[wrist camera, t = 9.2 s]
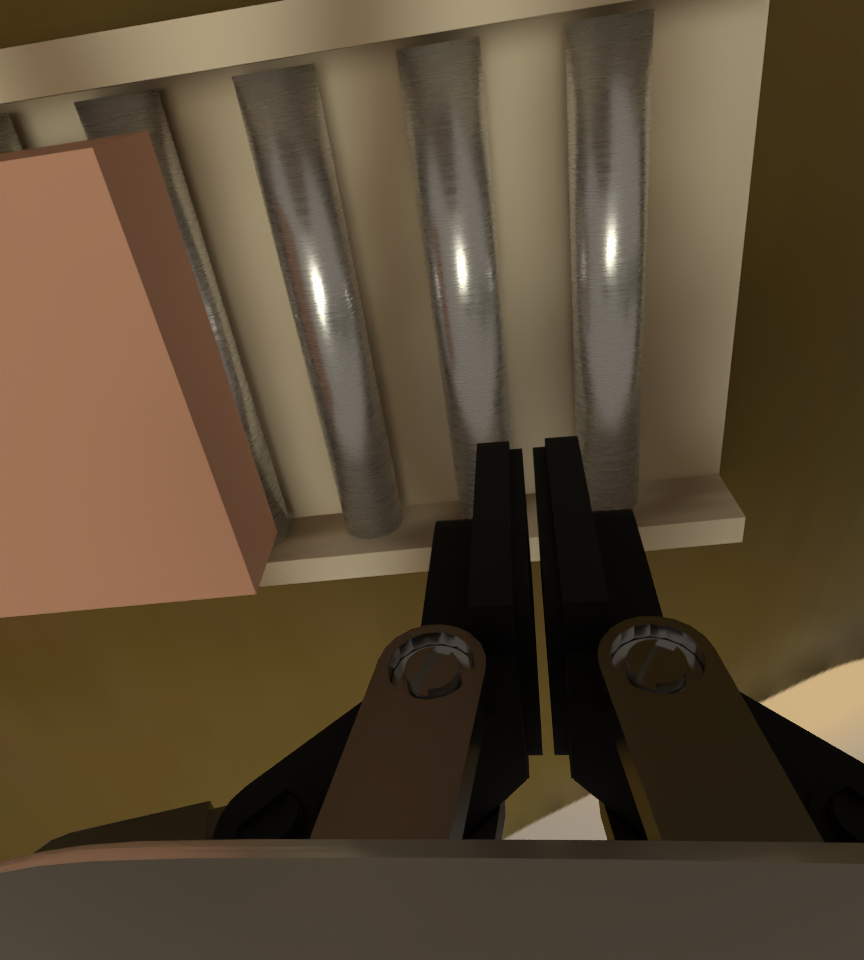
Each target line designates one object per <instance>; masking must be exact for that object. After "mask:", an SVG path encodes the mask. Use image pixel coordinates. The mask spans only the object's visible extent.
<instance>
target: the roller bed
mask: <svg viewBox="0 0 864 960" xmlns="http://www.w3.org/2000/svg"><path fill="white" fill-rule="evenodd" d="M769 2H770V0H284V1H278V2H273V3H267V4H261V5H255V6H249V7H243V8H238V9H232V10H226V11H220V12H214V13H208V14H203V15H197V16H191V17H185V18H179V19H173V20H168V21H162V22H156V23H150V24H144V25H138V26H132V27H127V28H121V29H115V30H109V31H103V32H97V33H92V34H86V35H80V36H74V37H68V38H62V39H57V40H51V41H45V42H39V43H33V44H27V45H22V46H16V47H10V48H4V49H0V114H3V113H8V114H9V116H10V119H11V121H12V123H13V126H14V128H15V131H16V133H17V135H18V138H19V140H20V143H21V145H22V147H23V150H27V149H34V148H40V147H46V146H53V145H59V144H66V143H72V142H78V141H85V140H87V138H86V135H85V132H84V130H83V127H82V124H81V121H80V119H79V116H78V113H77V111H76V108H75V105H74V102H77V101H83V100H89V99H95V98H101V97H107V96H113V95H120V94H126V93H132V92H138V91H144V90H151V89H157V90H158V93H159V96H160V99H161V103H162V106H163V109H164V112H165V116H166V119H167V122H168V125H169V129H170V132H171V135H172V138H173V142H174V145H175V148H176V151H177V155H178V158H179V161H180V164H181V168H182V171H183V174H184V177H185V181H186V184H187V187H188V191H189V194H190V197H191V200H192V204H193V207H194V210H195V213H196V217H197V220H198V223H199V226H200V230H201V233H202V236H203V239H204V243H205V246H206V249H207V252H208V256H209V259H210V262H211V265H212V269H213V272H214V275H215V278H216V282H217V285H218V288H219V291H220V295H221V298H222V301H223V304H224V308H225V311H226V314H227V317H228V321H229V324H230V327H231V330H232V334H233V337H234V340H235V343H236V347H237V350H238V353H239V356H240V360H241V363H242V366H243V369H244V373H245V376H246V379H247V382H248V386H249V389H250V392H251V395H252V399H253V402H254V405H255V408H256V412H257V415H258V418H259V421H260V425H261V428H262V431H263V434H264V438H265V441H266V444H267V447H268V451H269V454H270V457H271V460H272V464H273V467H274V470H275V473H276V477H277V480H278V483H279V486H280V490H281V493H282V496H283V499H284V503H285V506H286V509H287V512H288V516H289V519H290V522H291V530H290V532H289V534H288V535H287V537H285V538H284V539H283V540H282V541H281V542H279V543H277V544H276V545H273V547H272V550H271V553H270V556H269V559H268V562H267V564H266V567H265V570H264V573H263V576H262V579H261V582H260V585H259V587H262V586H273V585H283V584H294V583H305V582H316V581H327V580H337V579H348V578H359V577H370V576H381V575H391V574H402V573H413V572H424V571H429V564H430V556H431V549H432V541H433V534H434V527H435V523H436V521H441V520H457V519H462V517H461V513H460V506H459V499H458V492H457V485H456V478H455V471H454V463H453V456H452V449H451V442H450V435H449V428H448V421H447V414H446V406H445V399H444V392H443V385H442V378H441V371H440V364H439V356H438V349H437V342H436V335H435V328H434V321H433V314H432V306H431V299H430V292H429V285H428V278H427V271H426V264H425V257H424V249H423V242H422V235H421V228H420V221H419V214H418V207H417V199H416V192H415V185H414V178H413V171H412V164H411V157H410V149H409V142H408V135H407V128H406V121H405V114H404V107H403V100H402V92H401V85H400V78H399V71H398V64H397V57H396V50H398V49H404V48H410V47H416V46H422V45H428V44H434V43H440V42H446V41H453V40H459V39H465V38H471V37H478V36H479V37H480V49H481V61H482V73H483V85H484V97H485V109H486V121H487V133H488V145H489V157H490V169H491V181H492V193H493V205H494V217H495V229H496V241H497V253H498V265H499V277H500V289H501V301H502V313H503V325H504V337H505V349H506V361H507V373H508V385H509V397H510V409H511V421H512V433H513V445H514V449H520V448H522V453H523V466H524V479H525V492H526V505H527V518H528V531H529V544H530V557H531V562H532V561H540V552H539V537H538V522H537V507H536V492H535V478H534V463H533V447H545V438H553V437H566V436H576V426H575V388H574V350H573V313H572V275H571V237H570V199H569V161H568V124H567V86H566V48H565V22H570V21H576V20H582V19H588V18H594V17H601V16H607V15H613V14H619V13H625V12H632V11H638V10H644V9H650V8H654V35H653V66H652V98H651V129H650V160H649V191H648V222H647V254H646V285H645V316H644V347H643V379H642V410H641V441H640V472H639V500H638V503H637V505H636V506H635V507H634V508H633V509H632V510H633V513H634V516H635V519H636V522H637V526H638V530H639V533H640V537H641V540H642V544H643V547H644V551H650V550H661V549H672V548H683V547H694V546H704V545H715V544H726V543H737V542H742V540H743V533H744V525H745V518H746V517H745V515H744V514H743V512H742V511H741V509H740V507H739V506H738V504H737V502H736V501H735V499H734V498H733V496H732V494H731V493H730V491H729V490H728V488H727V486H726V485H725V483H724V482H723V480H722V478H721V477H720V475H719V471H720V462H721V452H722V443H723V434H724V424H725V415H726V406H727V396H728V387H729V377H730V368H731V359H732V349H733V340H734V330H735V321H736V312H737V302H738V293H739V283H740V274H741V265H742V255H743V246H744V236H745V227H746V218H747V208H748V199H749V190H750V180H751V171H752V161H753V152H754V143H755V133H756V124H757V114H758V105H759V96H760V86H761V77H762V67H763V58H764V49H765V39H766V30H767V20H768V11H769ZM311 63H314V66H315V71H316V76H317V81H318V86H319V91H320V96H321V101H322V106H323V111H324V117H325V122H326V127H327V132H328V137H329V142H330V147H331V152H332V157H333V162H334V167H335V173H336V178H337V183H338V188H339V193H340V198H341V203H342V208H343V213H344V218H345V223H346V229H347V234H348V239H349V244H350V249H351V254H352V259H353V264H354V269H355V274H356V279H357V285H358V290H359V295H360V300H361V305H362V310H363V315H364V320H365V325H366V330H367V336H368V341H369V346H370V351H371V356H372V361H373V366H374V371H375V376H376V381H377V386H378V392H379V397H380V402H381V407H382V412H383V417H384V422H385V427H386V432H387V437H388V442H389V448H390V453H391V458H392V463H393V468H394V473H395V478H396V483H397V488H398V493H399V498H400V504H401V509H402V514H403V521H402V523H401V525H400V526H399V527H398V528H397V529H396V530H395V531H393V532H392V533H390V534H388V535H386V536H383V537H380V538H375V539H361V538H357V537H354V536H352V535H351V534H350V533H349V532H348V531H347V528H346V524H345V520H344V516H343V512H342V509H341V505H340V501H339V497H338V493H337V489H336V485H335V481H334V477H333V473H332V469H331V465H330V461H329V457H328V453H327V450H326V446H325V442H324V438H323V434H322V430H321V426H320V422H319V418H318V414H317V410H316V406H315V402H314V398H313V394H312V391H311V387H310V383H309V379H308V375H307V371H306V367H305V363H304V359H303V355H302V351H301V347H300V343H299V339H298V335H297V332H296V328H295V324H294V320H293V316H292V312H291V308H290V304H289V300H288V296H287V292H286V288H285V284H284V280H283V276H282V273H281V269H280V265H279V261H278V257H277V253H276V249H275V245H274V241H273V237H272V233H271V229H270V225H269V221H268V217H267V214H266V210H265V206H264V202H263V198H262V194H261V190H260V186H259V182H258V178H257V174H256V170H255V166H254V162H253V158H252V155H251V151H250V147H249V143H248V139H247V135H246V131H245V127H244V123H243V119H242V115H241V111H240V107H239V103H238V99H237V96H236V92H235V88H234V84H233V80H232V76H237V75H243V74H249V73H255V72H261V71H268V70H274V69H280V68H286V67H292V66H298V65H305V64H311Z"/></svg>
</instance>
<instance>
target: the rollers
mask: <svg viewBox="0 0 864 960" xmlns="http://www.w3.org/2000/svg"><path fill="white" fill-rule="evenodd" d="M653 35H654V8H650V9H644V10H638V11H632V12H625V13H619V14H613V15H607V16H601V17H594V18H588V19H582V20H576V21H570V22H565V48H566V86H567V124H568V161H569V199H570V237H571V275H572V313H573V350H574V388H575V426H576V436H578V440H579V445H580V451H581V456H582V461H583V466H584V471H585V476H586V482H587V487H588V492H589V497H590V502H591V507H592V511H603V510H620V509H633V508H634V507H635V506H636V505H637V503H638V500H639V472H640V441H641V410H642V379H643V347H644V316H645V285H646V254H647V222H648V191H649V160H650V129H651V98H652V66H653ZM396 57H397V64H398V71H399V78H400V85H401V92H402V100H403V107H404V114H405V121H406V128H407V135H408V142H409V149H410V157H411V164H412V171H413V178H414V185H415V192H416V199H417V207H418V214H419V221H420V228H421V235H422V242H423V249H424V257H425V264H426V271H427V278H428V285H429V292H430V299H431V306H432V314H433V321H434V328H435V335H436V342H437V349H438V356H439V364H440V371H441V378H442V385H443V392H444V399H445V406H446V414H447V421H448V428H449V435H450V442H451V449H452V456H453V463H454V471H455V478H456V485H457V492H458V499H459V506H460V513H461V517H462V519H472V518H473V501H474V484H475V466H476V449H477V443H488V442H501V441H509V445H510V449H514V445H513V433H512V421H511V409H510V397H509V385H508V373H507V361H506V349H505V337H504V325H503V313H502V301H501V289H500V277H499V265H498V253H497V241H496V229H495V217H494V205H493V193H492V181H491V169H490V157H489V145H488V133H487V121H486V109H485V97H484V85H483V73H482V61H481V49H480V37H479V36H478V37H471V38H465V39H459V40H453V41H446V42H440V43H434V44H428V45H422V46H416V47H410V48H404V49H398V50H396ZM232 80H233V84H234V88H235V92H236V96H237V99H238V103H239V107H240V111H241V115H242V119H243V123H244V127H245V131H246V135H247V139H248V143H249V147H250V151H251V155H252V158H253V162H254V166H255V170H256V174H257V178H258V182H259V186H260V190H261V194H262V198H263V202H264V206H265V210H266V214H267V217H268V221H269V225H270V229H271V233H272V237H273V241H274V245H275V249H276V253H277V257H278V261H279V265H280V269H281V273H282V276H283V280H284V284H285V288H286V292H287V296H288V300H289V304H290V308H291V312H292V316H293V320H294V324H295V328H296V332H297V335H298V339H299V343H300V347H301V351H302V355H303V359H304V363H305V367H306V371H307V375H308V379H309V383H310V387H311V391H312V394H313V398H314V402H315V406H316V410H317V414H318V418H319V422H320V426H321V430H322V434H323V438H324V442H325V446H326V450H327V453H328V457H329V461H330V465H331V469H332V473H333V477H334V481H335V485H336V489H337V493H338V497H339V501H340V505H341V509H342V512H343V516H344V520H345V524H346V528H347V531H348V532H349V533H350V534H351V535H352V536H354V537H357V538H361V539H375V538H380V537H383V536H386V535H388V534H390V533H392V532H393V531H395V530H396V529H397V528H398V527H399V526H400V525H401V523H402V521H403V514H402V509H401V504H400V498H399V493H398V488H397V483H396V478H395V473H394V468H393V463H392V458H391V453H390V448H389V442H388V437H387V432H386V427H385V422H384V417H383V412H382V407H381V402H380V397H379V392H378V386H377V381H376V376H375V371H374V366H373V361H372V356H371V351H370V346H369V341H368V336H367V330H366V325H365V320H364V315H363V310H362V305H361V300H360V295H359V290H358V285H357V279H356V274H355V269H354V264H353V259H352V254H351V249H350V244H349V239H348V234H347V229H346V223H345V218H344V213H343V208H342V203H341V198H340V193H339V188H338V183H337V178H336V173H335V167H334V162H333V157H332V152H331V147H330V142H329V137H328V132H327V127H326V122H325V117H324V111H323V106H322V101H321V96H320V91H319V86H318V81H317V76H316V71H315V66H314V63H311V64H305V65H298V66H292V67H286V68H280V69H274V70H268V71H261V72H255V73H249V74H243V75H237V76H232ZM74 105H75V108H76V111H77V113H78V116H79V119H80V121H81V124H82V127H83V130H84V132H85V135H86V138H87V140H91V139H97V138H104V137H110V136H117V135H123V134H129V133H136V132H142V131H148V133H149V136H150V139H151V142H152V145H153V148H154V151H155V155H156V158H157V161H158V164H159V167H160V170H161V173H162V176H163V179H164V182H165V185H166V189H167V192H168V195H169V198H170V201H171V204H172V207H173V210H174V213H175V216H176V220H177V223H178V226H179V229H180V232H181V235H182V238H183V241H184V244H185V247H186V250H187V254H188V257H189V260H190V263H191V266H192V269H193V272H194V275H195V278H196V281H197V284H198V288H199V291H200V294H201V297H202V300H203V303H204V306H205V309H206V312H207V315H208V318H209V322H210V325H211V328H212V331H213V334H214V337H215V340H216V343H217V346H218V349H219V353H220V356H221V359H222V362H223V365H224V368H225V371H226V374H227V377H228V380H229V383H230V387H231V390H232V393H233V396H234V399H235V402H236V405H237V408H238V411H239V414H240V417H241V421H242V424H243V427H244V430H245V433H246V436H247V439H248V442H249V445H250V448H251V452H252V455H253V458H254V461H255V464H256V467H257V470H258V473H259V476H260V479H261V482H262V486H263V489H264V492H265V495H266V498H267V501H268V504H269V507H270V510H271V513H272V516H273V520H274V523H275V526H276V529H277V532H278V533H277V535H276V538H275V541H274V544H273V545H276V544H277V543H279V542H281V541H282V540H283V539H284V538H285V537H287V535H288V534H289V532H290V530H291V522H290V519H289V516H288V512H287V509H286V506H285V503H284V499H283V496H282V493H281V490H280V486H279V483H278V480H277V477H276V473H275V470H274V467H273V464H272V460H271V457H270V454H269V451H268V447H267V444H266V441H265V438H264V434H263V431H262V428H261V425H260V421H259V418H258V415H257V412H256V408H255V405H254V402H253V399H252V395H251V392H250V389H249V386H248V382H247V379H246V376H245V373H244V369H243V366H242V363H241V360H240V356H239V353H238V350H237V347H236V343H235V340H234V337H233V334H232V330H231V327H230V324H229V321H228V317H227V314H226V311H225V308H224V304H223V301H222V298H221V295H220V291H219V288H218V285H217V282H216V278H215V275H214V272H213V269H212V265H211V262H210V259H209V256H208V252H207V249H206V246H205V243H204V239H203V236H202V233H201V230H200V226H199V223H198V220H197V217H196V213H195V210H194V207H193V204H192V200H191V197H190V194H189V191H188V187H187V184H186V181H185V177H184V174H183V171H182V168H181V164H180V161H179V158H178V155H177V151H176V148H175V145H174V142H173V138H172V135H171V132H170V129H169V125H168V122H167V119H166V116H165V112H164V109H163V106H162V103H161V99H160V96H159V93H158V90H157V89H151V90H144V91H138V92H132V93H126V94H120V95H113V96H107V97H101V98H95V99H89V100H83V101H77V102H74ZM21 150H23V147H22V145H21V143H20V140H19V138H18V135H17V133H16V131H15V128H14V126H13V123H12V121H11V119H10V116H9V114H8V113H3V114H0V154H2V153H8V152H14V151H21Z"/></svg>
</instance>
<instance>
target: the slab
mask: <svg viewBox="0 0 864 960" xmlns="http://www.w3.org/2000/svg"><path fill="white" fill-rule="evenodd" d="M277 533H278V532H277V529H276V526H275V523H274V520H273V516H272V513H271V510H270V507H269V504H268V501H267V498H266V495H265V492H264V489H263V486H262V482H261V479H260V476H259V473H258V470H257V467H256V464H255V461H254V458H253V455H252V452H251V448H250V445H249V442H248V439H247V436H246V433H245V430H244V427H243V424H242V421H241V417H240V414H239V411H238V408H237V405H236V402H235V399H234V396H233V393H232V390H231V387H230V383H229V380H228V377H227V374H226V371H225V368H224V365H223V362H222V359H221V356H220V353H219V349H218V346H217V343H216V340H215V337H214V334H213V331H212V328H211V325H210V322H209V318H208V315H207V312H206V309H205V306H204V303H203V300H202V297H201V294H200V291H199V288H198V284H197V281H196V278H195V275H194V272H193V269H192V266H191V263H190V260H189V257H188V254H187V250H186V247H185V244H184V241H183V238H182V235H181V232H180V229H179V226H178V223H177V220H176V216H175V213H174V210H173V207H172V204H171V201H170V198H169V195H168V192H167V189H166V185H165V182H164V179H163V176H162V173H161V170H160V167H159V164H158V161H157V158H156V155H155V151H154V148H153V145H152V142H151V139H150V136H149V133H148V131H142V132H136V133H129V134H123V135H117V136H110V137H104V138H97V139H91V140H85V141H78V142H72V143H66V144H59V145H53V146H46V147H40V148H34V149H27V150H21V151H14V152H8V153H2V154H0V618H1V617H12V616H23V615H34V614H45V613H56V612H67V611H78V610H89V609H99V608H110V607H121V606H132V605H143V604H154V603H165V602H176V601H187V600H198V599H209V598H219V597H230V596H241V595H252V594H256V593H257V591H258V588H259V585H260V582H261V579H262V576H263V573H264V570H265V567H266V564H267V562H268V559H269V556H270V553H271V550H272V547H273V544H274V541H275V538H276V535H277Z"/></svg>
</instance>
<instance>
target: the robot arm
mask: <svg viewBox="0 0 864 960" xmlns="http://www.w3.org/2000/svg"><path fill="white" fill-rule="evenodd" d="M533 463H534V478H535V492H536V507H537V522H538V537H539V552H540V566H541V581H542V594H543V608H544V621H545V634H546V647H547V660H548V674H549V687H550V700H551V713H552V726H553V740H554V753H555V755H569V759H570V769H571V778H573V779H574V780H575V781H576V782H577V783H579V784H580V785H581V786H582V787H584V788H585V789H586V790H587V791H588V792H590V793H591V794H592V795H593V796H595V797H596V798H597V799H598V800H599V805H600V814H601V819H602V822H603V825H604V829H605V833H606V836H607V840H502V837H503V830H504V824H505V817H506V805H505V800H506V799H507V798H508V797H509V796H510V795H511V794H512V793H513V792H514V791H515V790H516V789H517V788H519V787H520V786H521V785H522V784H523V783H524V782H525V781H526V780H527V778H529V757H528V755H543V753H542V736H541V719H540V702H539V685H538V668H537V651H536V634H535V617H534V600H533V584H532V570H531V557H530V544H529V531H528V518H527V505H526V492H525V479H524V466H523V453H522V448H520V449H510V445H509V441H501V442H488V443H477V449H476V466H475V484H474V501H473V518H472V519H457V520H441V521H436V523H435V527H434V534H433V541H432V549H431V556H430V564H429V571H428V579H427V586H426V594H425V601H424V608H423V616H422V623H421V627H418V628H414V629H411V630H409V631H407V632H405V633H404V634H402V635H400V636H398V637H396V638H395V639H394V640H393V641H392V642H391V643H390V644H389V645H388V646H387V647H386V648H385V650H384V651H383V653H382V655H381V656H380V658H379V660H378V662H377V665H376V668H375V670H374V673H373V675H372V678H371V680H370V683H369V686H368V688H367V691H366V693H365V696H364V699H363V701H362V702H361V703H359V704H358V705H356V706H355V707H354V708H352V709H351V710H350V711H348V712H347V713H346V714H344V715H343V716H341V717H340V718H339V719H337V720H336V721H335V722H333V723H332V724H331V725H329V726H328V727H326V728H325V729H324V730H322V731H321V732H320V733H318V734H317V735H315V736H314V737H313V738H311V739H310V740H309V741H307V742H306V743H305V744H303V745H302V746H300V747H299V748H298V749H296V750H295V751H294V752H292V753H291V754H290V755H288V756H287V757H285V758H284V759H283V760H281V761H280V762H279V763H277V764H276V765H275V766H273V767H272V768H270V769H269V770H268V771H266V772H265V773H264V774H262V775H261V776H260V777H258V778H257V779H255V780H254V781H253V782H251V783H250V784H249V785H247V786H246V787H245V788H244V789H243V790H241V791H240V792H239V793H238V794H237V795H236V796H235V797H234V798H233V799H232V800H231V801H230V802H229V804H228V805H227V806H223V807H219V808H215V809H214V807H213V805H212V803H211V802H210V801H208V802H203V803H199V804H194V805H190V806H186V807H181V808H177V809H172V810H168V811H164V812H159V813H155V814H150V815H146V816H142V817H137V818H133V819H128V820H124V821H120V822H115V823H111V824H107V825H102V826H98V827H93V828H89V829H85V830H80V831H76V832H71V833H69V834H66V835H64V836H61V837H58V838H56V839H53V840H51V841H50V842H48V843H47V844H45V845H44V846H42V847H41V848H40V849H38V850H37V851H35V852H34V853H33V854H30V855H26V856H22V857H17V858H13V859H9V860H5V861H1V862H0V960H864V763H862V762H860V761H859V760H857V759H855V758H853V757H852V756H850V755H848V754H846V753H845V752H843V751H841V750H840V749H838V748H836V747H834V746H832V745H831V744H829V743H828V742H826V741H824V740H822V739H821V738H819V737H817V736H815V735H814V734H812V733H810V732H809V731H807V730H805V729H803V728H801V727H800V726H798V725H796V724H795V723H793V722H791V721H789V720H788V719H786V718H784V717H782V716H781V715H779V714H777V713H776V712H774V711H772V710H770V709H769V708H767V707H765V706H763V705H762V704H760V703H758V702H757V701H755V700H753V699H751V698H750V697H748V696H746V695H744V694H743V693H741V692H739V690H738V688H737V687H736V685H735V683H734V681H733V680H732V678H731V676H730V674H729V673H728V671H727V669H726V667H725V665H724V664H723V662H722V660H721V658H720V657H719V655H718V653H717V651H716V649H715V648H714V647H713V646H712V644H711V643H710V642H709V641H708V639H707V638H706V637H705V636H704V635H703V634H701V633H700V632H698V631H697V630H696V629H694V628H693V627H691V626H689V625H687V624H685V623H682V622H680V621H677V620H675V619H670V618H664V617H663V615H662V611H661V608H660V604H659V601H658V597H657V594H656V590H655V587H654V583H653V579H652V576H651V572H650V569H649V565H648V562H647V558H646V554H645V551H644V547H643V544H642V540H641V537H640V533H639V530H638V526H637V522H636V519H635V516H634V513H633V510H632V509H620V510H603V511H592V507H591V502H590V497H589V492H588V487H587V482H586V476H585V471H584V466H583V461H582V456H581V451H580V445H579V440H578V436H566V437H553V438H545V447H533Z"/></svg>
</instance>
